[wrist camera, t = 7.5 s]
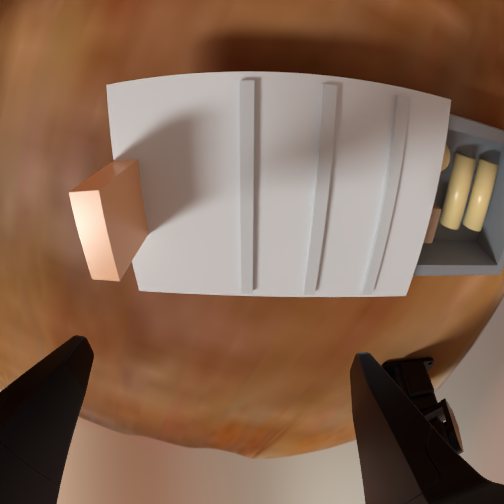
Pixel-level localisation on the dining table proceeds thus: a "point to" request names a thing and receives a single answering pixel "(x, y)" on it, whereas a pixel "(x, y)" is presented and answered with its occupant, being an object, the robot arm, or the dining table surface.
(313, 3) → the dining table surface
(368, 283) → the lid
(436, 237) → the tub
